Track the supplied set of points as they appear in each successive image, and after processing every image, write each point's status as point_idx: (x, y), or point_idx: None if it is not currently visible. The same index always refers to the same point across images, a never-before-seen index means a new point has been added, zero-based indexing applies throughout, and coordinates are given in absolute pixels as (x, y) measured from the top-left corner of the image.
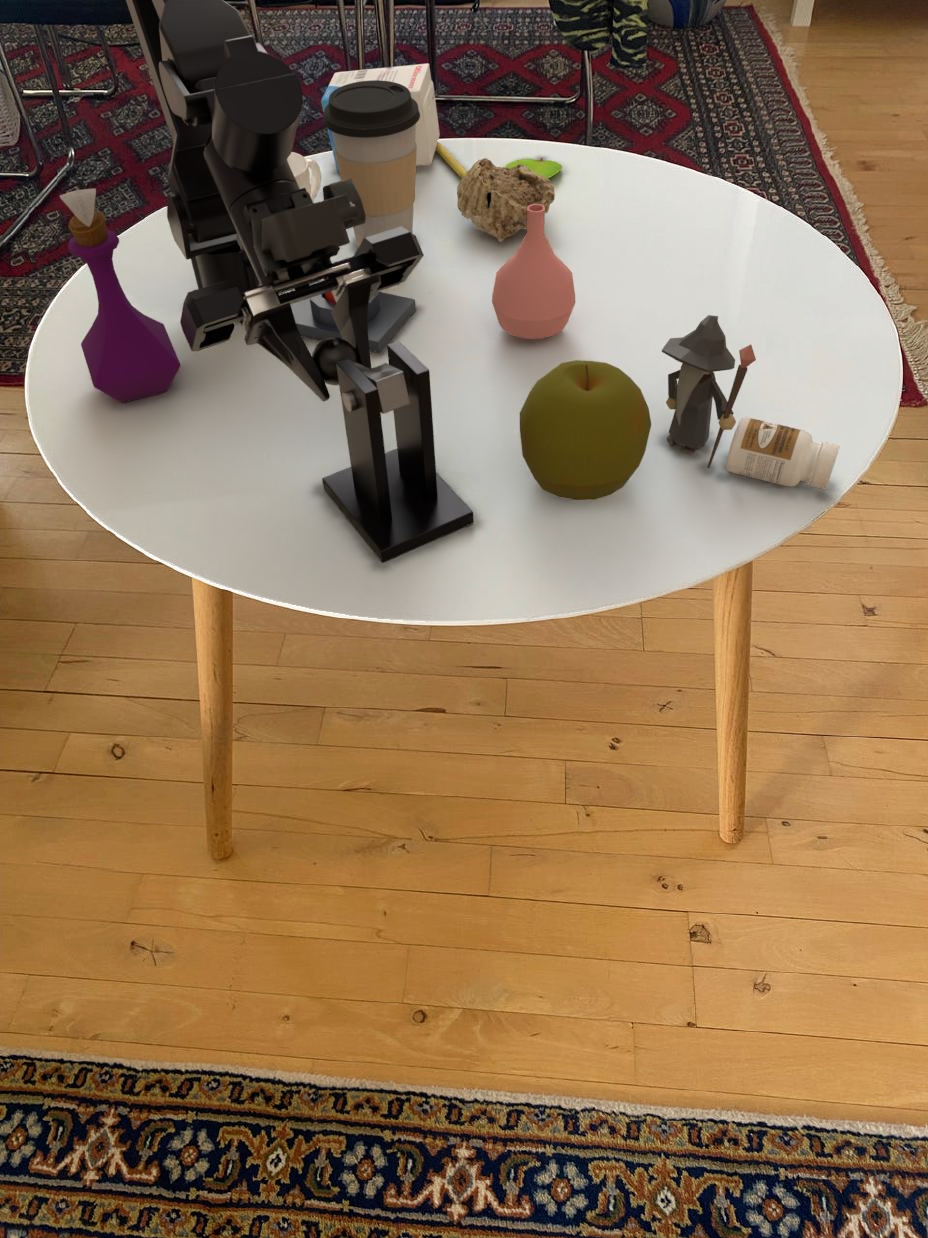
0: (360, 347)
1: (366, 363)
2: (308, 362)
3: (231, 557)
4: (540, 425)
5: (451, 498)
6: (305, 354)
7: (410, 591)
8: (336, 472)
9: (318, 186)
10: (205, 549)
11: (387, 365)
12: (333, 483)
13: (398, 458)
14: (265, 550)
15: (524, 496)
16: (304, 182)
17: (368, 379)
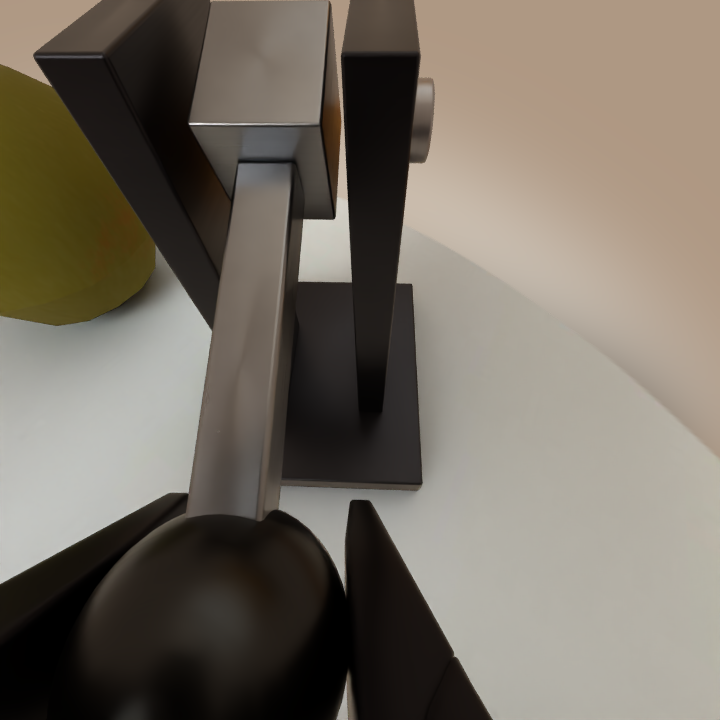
0: (54, 588)
1: (124, 529)
2: (392, 619)
3: (627, 422)
4: (83, 138)
5: None
6: (396, 666)
7: (401, 252)
8: (387, 483)
9: None
10: (677, 468)
11: (202, 95)
12: (408, 452)
13: None
14: (565, 406)
15: (173, 301)
16: None
17: None
